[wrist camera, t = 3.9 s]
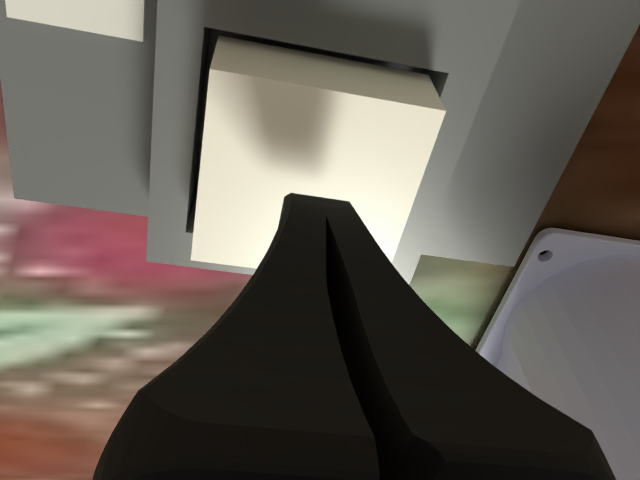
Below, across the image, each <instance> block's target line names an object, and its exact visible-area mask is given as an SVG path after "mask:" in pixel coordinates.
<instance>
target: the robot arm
mask: <svg viewBox="0 0 640 480" xmlns="http://www.w3.org/2000/svg"><path fill="white" fill-rule="evenodd" d="M545 250H548V251H547V252H546V253H545V254H542V255H539V254H540V253H541V252H543V251H545ZM93 480H640V241H638V240H631V239H625V238H618V237H611V236H605V235H598V234H591V233H585V232H578V231H571V230H565V229H558V228H547V229H544V230H542V231H540V232H539V233H538V234H537V235H536V236H535V238H534V240H533V242H532V244H531V246H530V247H529V249H528V251H527V253H526V255H525V257H524V259H523V261H522V263H521V265H520V266H519V268H518V270H517V272H516V274H515V276H514V278H513V280H512V282H511V284H510V285H509V287H508V289H507V291H506V293H505V295H504V297H503V299H502V301H501V303H500V305H499V306H498V308H497V310H496V312H495V314H494V316H493V318H492V320H491V322H490V324H489V325H488V327H487V329H486V331H485V333H484V335H483V337H482V339H481V341H480V343H479V344H478V346H477V348H476V350H474V349H473V348H472V347H470V346H469V345H468V344H467V343H466V342H464V341H463V340H462V339H461V338H460V337H459V336H458V335H457V334H456V333H454V332H453V331H452V330H451V329H450V328H449V327H448V326H447V325H446V324H445V323H444V322H443V321H442V320H441V319H440V318H439V317H438V316H437V315H436V314H435V313H434V312H433V311H432V310H431V309H430V308H429V307H428V306H427V305H426V304H425V303H424V302H423V301H422V299H421V298H420V297H419V296H418V295H417V294H416V293H415V291H414V290H413V289H412V288H411V287H410V285H409V284H408V283H407V282H406V281H405V280H404V278H403V277H402V276H401V275H400V273H399V272H398V271H397V270H396V268H395V267H394V266H393V264H392V263H391V262H390V260H389V259H388V258H387V256H386V255H385V253H384V252H383V251H382V249H381V248H380V246H379V245H378V244H377V242H376V241H375V239H374V238H373V236H372V235H371V233H370V232H369V230H368V229H367V227H366V226H365V224H364V223H363V221H362V219H361V218H360V216H359V215H358V213H357V212H356V210H355V209H354V207H353V206H352V204H351V203H350V201H343V200H337V199H330V198H323V197H316V196H310V195H303V194H296V193H290V194H288V195H286V196H284V200H283V205H282V210H281V215H280V220H279V225H278V229H277V231H276V233H275V236H274V238H273V240H272V242H271V244H270V247H269V249H268V250H267V252H266V254H265V256H264V257H263V259H262V261H261V263H260V264H259V266H258V268H257V269H256V271H255V273H254V274H253V276H252V277H251V279H250V280H249V282H248V283H247V285H246V286H245V287H244V289H243V290H242V292H241V293H240V294H239V296H238V297H237V298H236V300H235V301H234V302H233V303H232V305H231V306H230V307H229V308H228V309H227V310H226V312H225V313H224V314H223V315H222V316H221V317H220V319H219V320H218V321H217V322H216V323H215V324H214V325H213V326H212V328H211V329H210V330H209V331H208V332H207V333H206V334H205V335H204V336H203V337H202V338H200V339H199V340H198V341H197V342H196V343H195V344H194V345H193V346H192V347H191V348H190V349H189V350H188V351H187V352H186V353H185V354H184V355H182V356H181V357H180V358H179V359H178V360H177V361H176V362H174V363H173V364H172V365H171V366H170V367H168V368H167V369H166V370H164V371H163V372H162V373H160V374H159V375H158V376H157V377H155V378H154V379H153V380H151V381H150V382H149V383H148V384H146V385H145V386H144V387H142V388H141V389H140V390H139V391H138V392H137V393H136V395H135V396H134V398H133V400H132V401H131V403H130V404H129V406H128V407H127V409H126V411H125V412H124V414H123V415H122V417H121V419H120V420H119V422H118V424H117V426H116V427H115V429H114V431H113V432H112V434H111V436H110V438H109V440H108V442H107V444H106V446H105V448H104V450H103V452H102V455H101V457H100V460H99V462H98V464H97V467H96V470H95V473H94V476H93Z"/></svg>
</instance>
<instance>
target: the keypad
mask: <svg viewBox="0 0 640 480" xmlns="http://www.w3.org/2000/svg"><path fill="white" fill-rule="evenodd" d="M639 25H640V0H0V80H1V89H2V97H3V106H4V114H5V123H6V131H7V140H8V149H9V157H10V166H11V174H12V183H13V191H14V198H16V199H23V200H30V201H37V202H45V203H52V204H59V205H67V206H74V207H81V208H88V209H96V210H103V211H110V212H117V213H125V214H132V215H139V216H147V217H148V232H147V256H146V261H147V262H155V263H163V264H171V265H179V266H187V267H195V268H203V269H211V270H219V271H227V272H235V273H242V274H250V275H253V274H254V273H255V271H256V269H255V268H247V267H239V266H232V265H224V264H216V263H208V262H200V261H192V260H191V251H192V241H193V231H194V221H195V211H196V201H197V191H198V181H199V171H200V161H201V151H202V141H203V131H204V121H205V111H206V101H207V91H208V81H209V71H210V66H211V62H212V58H213V55H214V51H215V47H216V43H217V40H218V36H224V37H230V38H235V39H240V40H246V41H251V42H256V43H262V44H267V45H272V46H278V47H283V48H288V49H294V50H299V51H304V52H309V53H315V54H320V55H325V56H331V57H336V58H341V59H347V60H352V61H357V62H363V63H368V64H373V65H379V66H384V67H389V68H395V69H400V70H405V71H410V72H416V73H421V74H426V75H429V77H430V79H431V81H432V83H433V85H434V87H435V89H436V91H437V93H438V95H439V97H440V99H441V101H442V103H443V105H444V108H445V110H446V113H445V116H444V119H443V121H442V124H441V127H440V130H439V133H438V135H437V138H436V141H435V144H434V147H433V149H432V152H431V155H430V158H429V160H428V163H427V166H426V169H425V172H424V174H423V177H422V180H421V183H420V186H419V188H418V191H417V194H416V197H415V199H414V202H413V205H412V208H411V211H410V213H409V216H408V219H407V222H406V225H405V227H404V230H403V233H402V236H401V238H400V241H399V244H398V247H397V250H396V252H395V255H394V258H393V261H392V264H393V266H394V267H395V268H396V270H397V271H398V272H399V273H400V275H401V276H402V277H403V278H404V280H405V281H406V282H407V283H408V284H410V282H411V279H412V276H413V274H414V271H415V269H416V266H417V264H418V261H419V259H420V256H421V254H423V255H430V256H438V257H445V258H452V259H460V260H467V261H474V262H481V263H489V264H496V265H503V266H511V267H514V266H515V264H516V262H517V260H518V258H519V256H520V254H521V252H522V250H523V248H524V247H525V245H526V243H527V241H528V239H529V237H530V235H531V233H532V231H533V229H534V227H535V225H536V223H537V221H538V220H539V218H540V216H541V214H542V212H543V210H544V208H545V206H546V204H547V202H548V200H549V198H550V196H551V195H552V193H553V191H554V189H555V187H556V185H557V183H558V181H559V179H560V177H561V175H562V173H563V171H564V169H565V168H566V166H567V164H568V162H569V160H570V158H571V156H572V154H573V152H574V150H575V148H576V146H577V144H578V142H579V141H580V139H581V137H582V135H583V133H584V131H585V129H586V127H587V125H588V123H589V121H590V119H591V117H592V115H593V114H594V112H595V110H596V108H597V106H598V104H599V102H600V100H601V98H602V96H603V94H604V92H605V90H606V89H607V87H608V85H609V83H610V81H611V79H612V77H613V75H614V73H615V71H616V69H617V67H618V65H619V63H620V62H621V60H622V58H623V56H624V54H625V52H626V50H627V48H628V46H629V44H630V42H631V40H632V38H633V36H634V35H635V33H636V31H637V29H638V27H639Z"/></svg>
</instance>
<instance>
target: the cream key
mask: <svg viewBox="0 0 640 480" xmlns="http://www.w3.org/2000/svg"><path fill="white" fill-rule="evenodd" d="M445 113H446V110H445V108H444V105H443V103H442V101H441V99H440V97H439V95H438V93H437V91H436V89H435V87H434V85H433V83H432V81H431V79H430V77H429V75H426V74H421V73H416V72H410V71H405V70H400V69H395V68H389V67H384V66H379V65H373V64H368V63H363V62H357V61H352V60H347V59H341V58H336V57H331V56H325V55H320V54H315V53H309V52H304V51H299V50H294V49H288V48H283V47H278V46H272V45H267V44H262V43H256V42H251V41H246V40H240V39H235V38H230V37H224V36H218V40H217V43H216V47H215V51H214V55H213V58H212V62H211V66H210V71H209V81H208V91H207V101H206V111H205V121H204V131H203V141H202V151H201V161H200V171H199V181H198V191H197V201H196V211H195V221H194V231H193V241H192V251H191V260H192V261H200V262H208V263H216V264H224V265H232V266H239V267H247V268H255V269H257V268H258V266H259V264H260V263H261V261H262V259H263V257H264V256H265V254H266V252H267V250H268V249H269V247H270V244H271V242H272V240H273V238H274V236H275V233H276V231H277V229H278V225H279V220H280V215H281V210H282V205H283V200H284V196H286V195H288V194H290V193H296V194H303V195H310V196H316V197H323V198H330V199H337V200H343V201H350V203H351V204H352V206H353V207H354V209H355V210H356V212H357V213H358V215H359V216H360V218H361V219H362V221H363V223H364V224H365V226H366V227H367V229H368V230H369V232H370V233H371V235H372V236H373V238H374V239H375V241H376V242H377V244H378V245H379V246H380V248H381V249H382V251H383V252H384V253H385V255H386V256H387V258H388V259H389V260H390V262H391V263H392V261H393V258H394V255H395V252H396V250H397V247H398V244H399V241H400V238H401V236H402V233H403V230H404V227H405V225H406V222H407V219H408V216H409V213H410V211H411V208H412V205H413V202H414V199H415V197H416V194H417V191H418V188H419V186H420V183H421V180H422V177H423V174H424V172H425V169H426V166H427V163H428V160H429V158H430V155H431V152H432V149H433V147H434V144H435V141H436V138H437V135H438V133H439V130H440V127H441V124H442V121H443V119H444V116H445Z"/></svg>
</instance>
